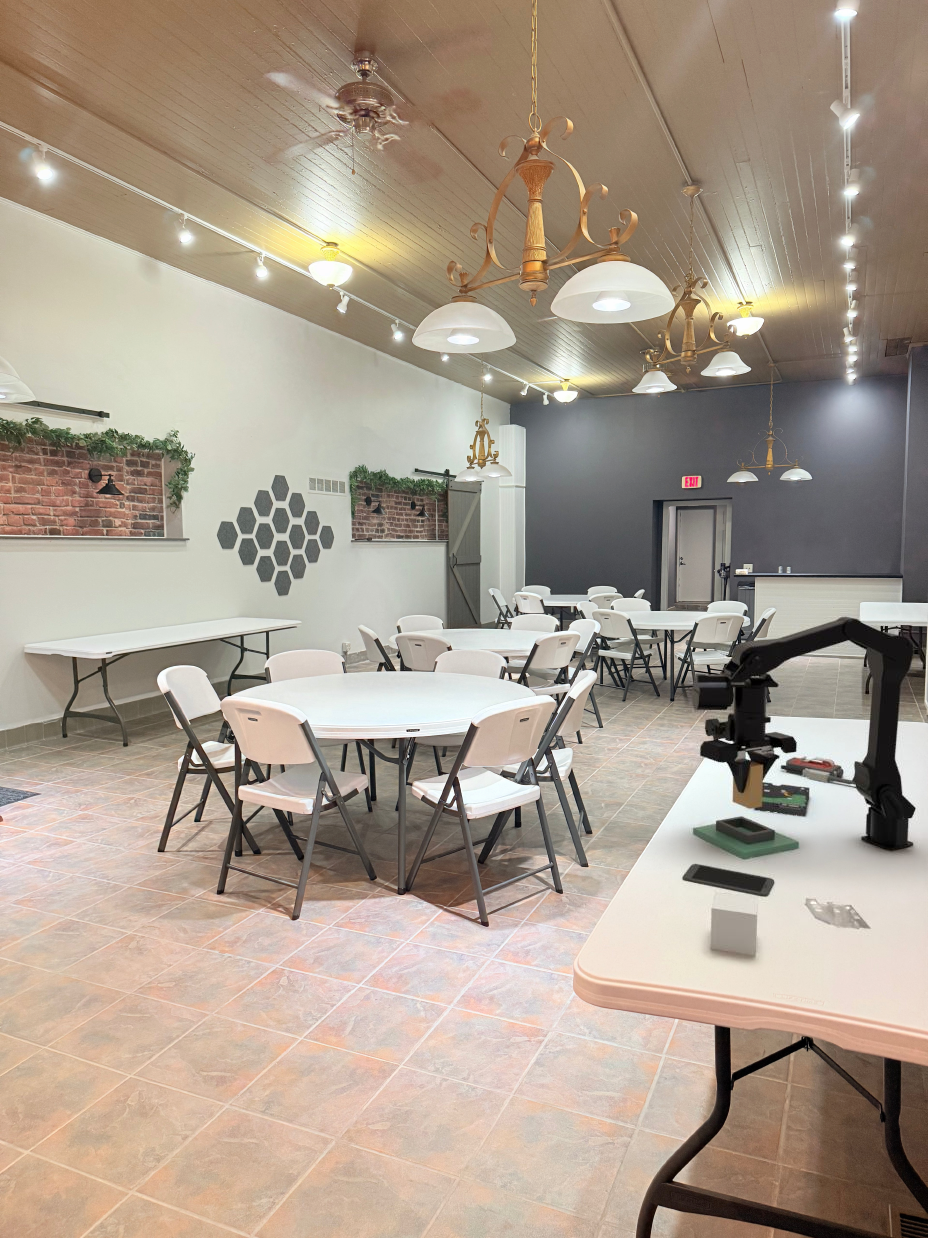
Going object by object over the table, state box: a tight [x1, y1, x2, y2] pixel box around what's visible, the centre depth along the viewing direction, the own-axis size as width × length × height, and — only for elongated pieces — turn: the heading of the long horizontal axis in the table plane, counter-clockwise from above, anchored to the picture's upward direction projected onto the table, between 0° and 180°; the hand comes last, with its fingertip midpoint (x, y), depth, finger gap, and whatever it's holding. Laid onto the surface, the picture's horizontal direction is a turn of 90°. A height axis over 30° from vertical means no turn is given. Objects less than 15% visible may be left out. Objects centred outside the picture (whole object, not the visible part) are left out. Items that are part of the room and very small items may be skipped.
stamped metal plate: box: [805, 897, 871, 930], centre depth 124 cm, size 8×7×2 cm
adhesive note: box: [710, 890, 759, 957], centre depth 116 cm, size 6×6×6 cm
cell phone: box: [682, 863, 775, 898], centre depth 137 cm, size 7×14×1 cm, turn 60°
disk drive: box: [753, 781, 810, 817], centre depth 177 cm, size 10×3×15 cm
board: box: [692, 815, 800, 860], centre depth 155 cm, size 14×13×3 cm
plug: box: [732, 761, 764, 810], centre depth 154 cm, size 5×3×8 cm, turn 24°
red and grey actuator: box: [780, 756, 856, 786], centre depth 196 cm, size 9×4×20 cm
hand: (747, 791), depth 154 cm, fingers closed on plug, 3 cm apart
